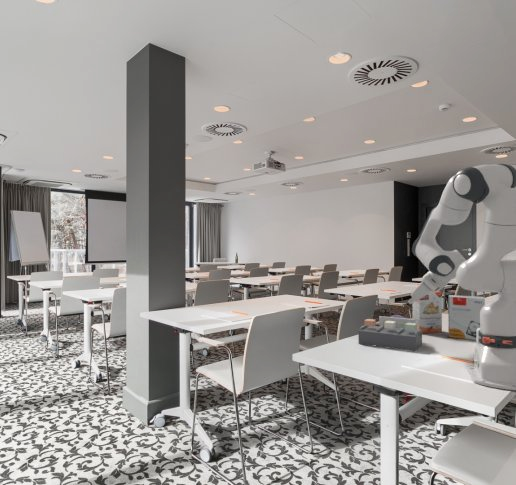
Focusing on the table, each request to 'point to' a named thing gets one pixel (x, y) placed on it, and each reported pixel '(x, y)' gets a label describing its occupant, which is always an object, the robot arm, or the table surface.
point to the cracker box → (428, 313)
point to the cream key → (390, 324)
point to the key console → (391, 335)
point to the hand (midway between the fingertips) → (409, 302)
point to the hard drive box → (464, 316)
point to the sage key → (411, 326)
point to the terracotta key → (369, 322)
